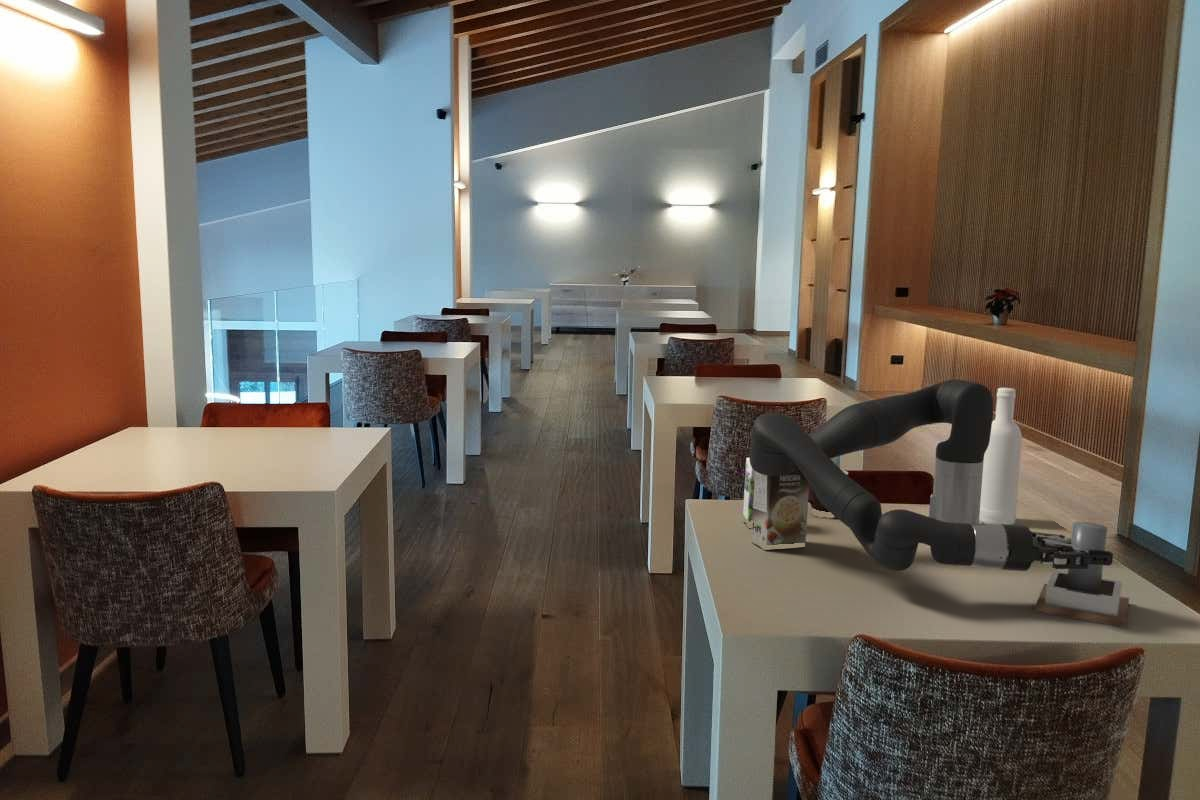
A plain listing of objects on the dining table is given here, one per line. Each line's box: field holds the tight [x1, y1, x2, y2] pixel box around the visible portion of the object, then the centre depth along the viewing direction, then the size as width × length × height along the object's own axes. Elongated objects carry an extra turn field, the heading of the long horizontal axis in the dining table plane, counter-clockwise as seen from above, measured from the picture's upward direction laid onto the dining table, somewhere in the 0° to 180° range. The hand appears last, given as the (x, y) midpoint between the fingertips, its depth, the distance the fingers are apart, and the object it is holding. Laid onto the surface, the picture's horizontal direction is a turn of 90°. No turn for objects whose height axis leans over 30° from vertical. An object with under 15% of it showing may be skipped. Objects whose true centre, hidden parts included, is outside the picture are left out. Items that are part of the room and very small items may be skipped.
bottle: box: [979, 387, 1023, 525], centre depth 209 cm, size 8×8×30 cm
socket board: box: [1034, 583, 1130, 628], centre depth 157 cm, size 13×13×1 cm
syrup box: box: [742, 457, 755, 522], centre depth 203 cm, size 6×6×14 cm
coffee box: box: [751, 470, 810, 545], centre depth 188 cm, size 9×6×16 cm
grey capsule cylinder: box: [1066, 521, 1108, 594], centre depth 156 cm, size 5×5×11 cm
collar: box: [1045, 569, 1123, 617], centre depth 157 cm, size 10×10×3 cm
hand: (1103, 553), depth 156 cm, fingers closed on grey capsule cylinder, 5 cm apart
